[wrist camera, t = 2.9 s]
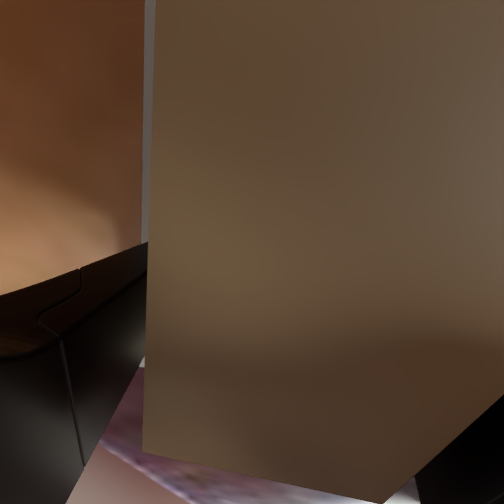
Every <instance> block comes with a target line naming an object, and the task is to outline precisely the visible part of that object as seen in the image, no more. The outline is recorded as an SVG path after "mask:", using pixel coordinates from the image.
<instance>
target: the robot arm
mask: <svg viewBox="0 0 504 504" xmlns="http://www.w3.org/2000/svg"><path fill="white" fill-rule="evenodd" d="M147 267H148V242H145V243H143V244H140V245H137V246H135V247H132V248H130V249H127V250H125V251H122V252H119V253H117V254H114V255H112V256H109V257H107V258H104V259H101V260H99V261H96V262H94V263H91V264H89V265H86V266H83V267H81V268H80V270H79V269H76V270H73V271H71V272H68V273H65V274H63V275H60V276H57V277H55V278H52V279H49V280H46V281H44V282H41V283H38V284H35V285H32V286H29V287H26V288H23V289H19V290H16V291H13V292H10V293H7V294H4V295H0V504H65V503H66V502H67V500H68V498H69V496H70V494H71V492H72V490H73V488H74V487H75V485H76V483H77V481H78V479H79V477H80V476H81V474H82V471H83V470H84V467H85V466H86V464H87V462H88V460H89V458H90V457H91V455H92V453H93V451H94V449H95V447H96V445H97V444H98V442H99V440H100V438H101V436H102V434H103V432H104V431H105V429H106V427H107V425H108V423H109V421H110V419H111V418H112V416H113V414H114V412H115V410H116V408H117V406H118V404H119V403H120V401H121V399H122V397H123V395H124V393H125V391H126V390H127V388H128V386H129V384H130V382H131V380H132V378H133V377H134V375H135V373H136V371H137V369H138V367H139V365H140V364H141V362H142V360H143V358H144V356H145V333H146V300H147ZM414 476H415V481H416V485H417V490H418V494H419V498H420V503H421V504H504V395H502V396H501V397H500V398H499V399H498V400H497V401H496V402H495V403H494V404H493V405H491V406H490V407H489V408H488V409H487V410H486V411H485V412H484V413H483V414H482V415H480V416H479V417H478V418H477V419H476V420H475V421H474V422H473V423H472V424H470V425H469V426H468V427H467V428H466V429H465V430H464V431H463V432H462V433H461V434H459V435H458V436H457V437H456V438H455V439H454V440H453V441H452V442H451V443H450V444H448V445H447V446H446V447H445V448H444V449H443V450H442V451H441V452H440V453H439V454H437V455H436V456H435V457H434V458H433V459H432V460H431V461H430V462H429V463H427V464H426V465H425V466H424V467H423V468H422V469H421V470H420V471H419V472H418V473H416V474H415V475H414Z"/></svg>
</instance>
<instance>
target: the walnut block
mask: <svg viewBox="0 0 504 504" xmlns="http://www.w3.org/2000/svg"><path fill="white" fill-rule="evenodd" d="M502 395H504V0H156V5H155V38H154V71H153V104H152V136H151V169H150V202H149V235H148V267H147V300H146V333H145V366H144V398H143V431H142V452H144V453H149V454H154V455H158V456H163V457H167V458H172V459H176V460H181V461H186V462H190V463H195V464H199V465H204V466H208V467H213V468H217V469H222V470H227V471H231V472H236V473H240V474H245V475H249V476H254V477H259V478H263V479H268V480H272V481H277V482H281V483H286V484H291V485H295V486H300V487H304V488H309V489H313V490H318V491H322V492H327V493H332V494H336V495H341V496H345V497H350V498H354V499H359V500H364V501H368V502H373V503H377V504H383V503H385V502H386V501H387V500H388V499H389V498H390V497H391V496H392V495H393V494H394V493H396V492H397V491H398V490H399V489H400V488H401V487H402V486H403V485H404V484H405V483H407V482H408V481H409V480H410V479H411V478H412V477H413V476H414V475H415V474H416V473H418V472H419V471H420V470H421V469H422V468H423V467H424V466H425V465H426V464H427V463H429V462H430V461H431V460H432V459H433V458H434V457H435V456H436V455H437V454H439V453H440V452H441V451H442V450H443V449H444V448H445V447H446V446H447V445H448V444H450V443H451V442H452V441H453V440H454V439H455V438H456V437H457V436H458V435H459V434H461V433H462V432H463V431H464V430H465V429H466V428H467V427H468V426H469V425H470V424H472V423H473V422H474V421H475V420H476V419H477V418H478V417H479V416H480V415H482V414H483V413H484V412H485V411H486V410H487V409H488V408H489V407H490V406H491V405H493V404H494V403H495V402H496V401H497V400H498V399H499V398H500V397H501V396H502Z"/></svg>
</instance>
